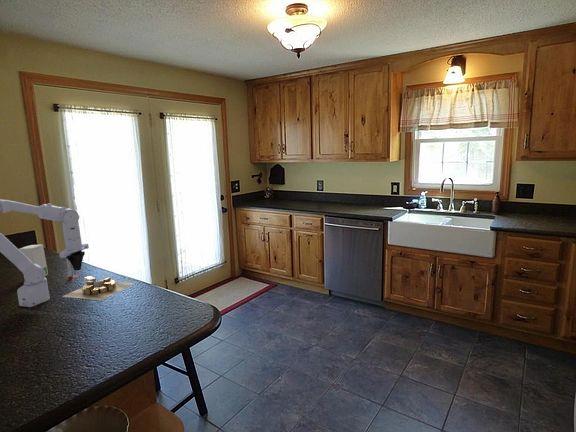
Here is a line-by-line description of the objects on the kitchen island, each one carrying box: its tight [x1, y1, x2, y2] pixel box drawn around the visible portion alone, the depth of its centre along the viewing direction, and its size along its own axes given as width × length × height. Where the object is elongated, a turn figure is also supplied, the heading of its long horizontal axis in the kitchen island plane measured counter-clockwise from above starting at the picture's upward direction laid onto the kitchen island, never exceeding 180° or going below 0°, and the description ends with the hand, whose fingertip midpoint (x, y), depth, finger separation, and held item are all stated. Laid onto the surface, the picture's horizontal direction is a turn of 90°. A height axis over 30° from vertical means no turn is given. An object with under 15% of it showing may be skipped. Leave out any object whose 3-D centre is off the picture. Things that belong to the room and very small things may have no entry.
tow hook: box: [64, 258, 79, 282], centre depth 166 cm, size 8×13×9 cm
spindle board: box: [62, 279, 135, 301], centre depth 148 cm, size 18×20×5 cm
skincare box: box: [18, 244, 49, 281], centre depth 170 cm, size 8×7×16 cm
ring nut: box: [81, 275, 116, 295], centre depth 148 cm, size 12×16×4 cm
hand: (77, 269), depth 147 cm, fingers closed
